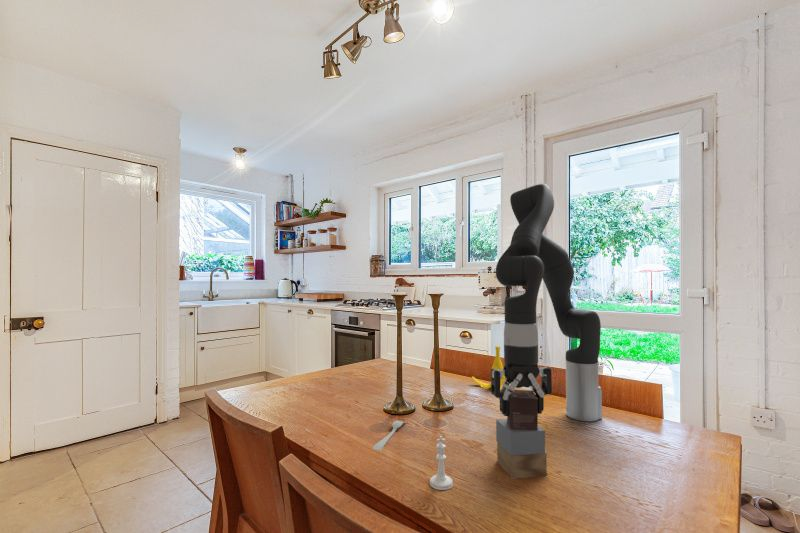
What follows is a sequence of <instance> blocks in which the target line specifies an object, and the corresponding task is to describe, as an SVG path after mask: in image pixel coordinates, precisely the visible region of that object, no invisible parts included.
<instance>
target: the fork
mask: <svg viewBox="0 0 800 533" xmlns="http://www.w3.org/2000/svg"><path fill="white" fill-rule="evenodd" d="M404 423H406V424H407V423H408V422H407V421H401V420H394V421H393V422H392V424H391V425H392V430H391V431H390V433H388V434H387V435H386V436H384V438H383V439H380V441H378V442H377V443H375V444H374V445H373V446H372V450H375V451H376V450H377V451H382V449H383V448H384V447H385V445H386V443H387V442H388V440H389V439H390V438H391V437H392V436H393V435H394V434H395V432H396V431H397V430H398V428H400V427H401V426H402V425H403V424H404Z"/></svg>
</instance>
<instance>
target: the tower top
mask: <svg viewBox="0 0 800 533" xmlns="http://www.w3.org/2000/svg"><path fill="white" fill-rule="evenodd" d="M495 422H496V423H495V424H496V425H495V426H496V427H495V429H496V430H495V434H496V436H495V438H496V439H495V440H496V443H497V442H498V443H499V444H500V445H501V446H502V447H503V448H504V449H505V450H506V451H507V452H508V453H509V454H510V455H511V456H516V455H529V454H541V453H546V430H545V429H543V428H542V427H541V426H540V425H538V430H537V431H532V430H517V429H510V426H509V423H508V420H507V418H502V419H501V418H500V419H496V420H495Z"/></svg>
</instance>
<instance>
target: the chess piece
mask: <svg viewBox="0 0 800 533" xmlns="http://www.w3.org/2000/svg"><path fill="white" fill-rule="evenodd" d="M436 442H437V444H436V445H435V446H436V451H437V454H436V455H435V458H436V460H438V466H437V473H436V474H435V475H433V476H431V477H430V479H429V485H430V487H431V488H433V489H435V490H439V491H446V490H450V489H451V488H452V487H453V486H454V483H453V479H452V478H451V476H448V475H447V474H446V472H445V471H446V470H445V464H444V463H445V462H444V461H445V460H446V459H447V456H446V455H445V454H444V453H445V451H446V447H447V446H446V443H445V444H444V443H443V442H446V439H445V438H443V435H440V436H439V438H437V439H436Z"/></svg>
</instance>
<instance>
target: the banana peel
mask: <svg viewBox="0 0 800 533" xmlns="http://www.w3.org/2000/svg"><path fill="white" fill-rule="evenodd" d="M494 348H495V358H494V361H493V364H492V367H491V370H492V369H496V370H502V369H503V368H504V365H503V362H502V360H501V355H500V350H501V346H499V345H496V346H494ZM471 379H472V381H474V383H476V384H477V385H478V386H479V387H481V388H483V389H487V390H489V389H491V381H490V383H487V382H486V383H485V382H483V381H481V380H478V378H475V376H471ZM505 380H506V377H505V376H504V375H503V376H502V379H501V380H500V390H501V388H502V385H503V383H504V381H505Z"/></svg>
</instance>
